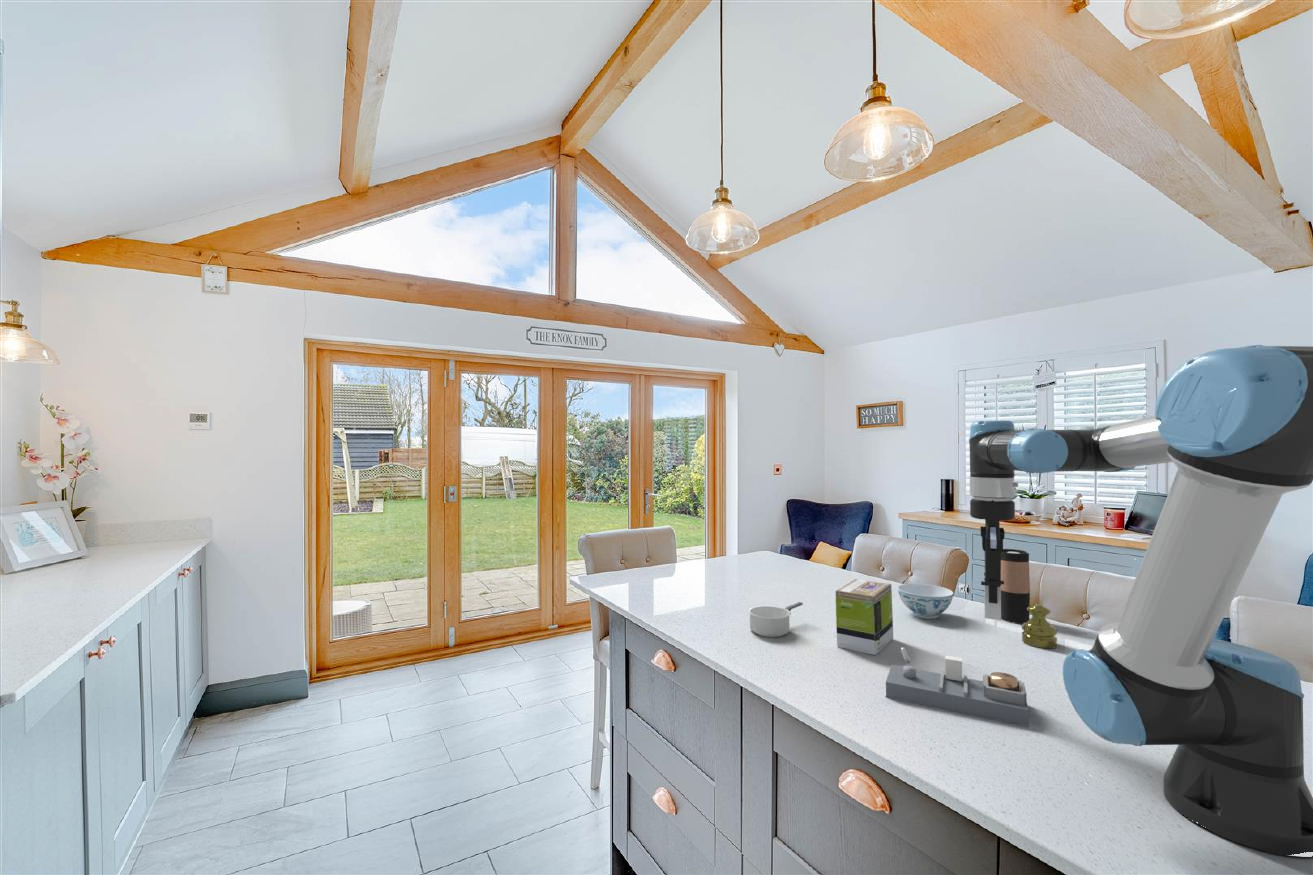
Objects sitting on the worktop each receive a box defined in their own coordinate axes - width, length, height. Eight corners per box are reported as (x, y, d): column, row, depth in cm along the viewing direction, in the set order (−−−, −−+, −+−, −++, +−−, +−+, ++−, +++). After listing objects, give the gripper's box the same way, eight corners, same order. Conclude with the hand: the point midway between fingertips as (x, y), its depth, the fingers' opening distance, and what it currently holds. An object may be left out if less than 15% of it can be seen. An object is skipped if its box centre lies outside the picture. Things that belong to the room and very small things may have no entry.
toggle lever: (910, 663, 112) (904, 648, 112) (905, 663, 112) (899, 648, 113) (910, 661, 113) (905, 646, 113) (905, 662, 113) (900, 647, 114)
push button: (1018, 696, 101) (1018, 683, 101) (991, 691, 103) (990, 678, 103) (1016, 687, 105) (1016, 674, 105) (990, 683, 107) (989, 670, 107)
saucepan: (818, 626, 154) (818, 606, 154) (772, 642, 141) (772, 621, 141) (785, 616, 163) (785, 598, 163) (739, 631, 150) (739, 610, 150)
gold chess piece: (1057, 651, 134) (1056, 610, 134) (1020, 644, 138) (1020, 605, 139) (1057, 642, 140) (1056, 603, 140) (1022, 636, 144) (1022, 599, 144)
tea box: (856, 631, 149) (855, 577, 149) (894, 639, 143) (893, 583, 143) (835, 647, 138) (834, 588, 138) (876, 656, 131) (875, 595, 131)
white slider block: (962, 681, 109) (961, 661, 109) (945, 678, 111) (945, 658, 111) (962, 677, 111) (962, 658, 111) (945, 674, 113) (945, 655, 113)
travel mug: (993, 617, 160) (992, 550, 161) (1009, 614, 164) (1008, 548, 164) (1019, 625, 153) (1018, 554, 154) (1036, 621, 157) (1035, 552, 157)
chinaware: (887, 610, 168) (886, 585, 168) (926, 606, 172) (925, 581, 172) (924, 625, 153) (924, 598, 154) (965, 620, 158) (965, 594, 158)
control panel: (1028, 726, 98) (1028, 698, 98) (886, 696, 110) (885, 671, 110) (1023, 703, 107) (1023, 678, 107) (891, 678, 119) (891, 655, 119)
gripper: (1017, 503, 100) (1018, 631, 99) (1012, 496, 111) (1013, 611, 111) (970, 500, 103) (970, 624, 103) (970, 494, 115) (970, 606, 115)
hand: (992, 617), depth 107 cm, fingers closed
